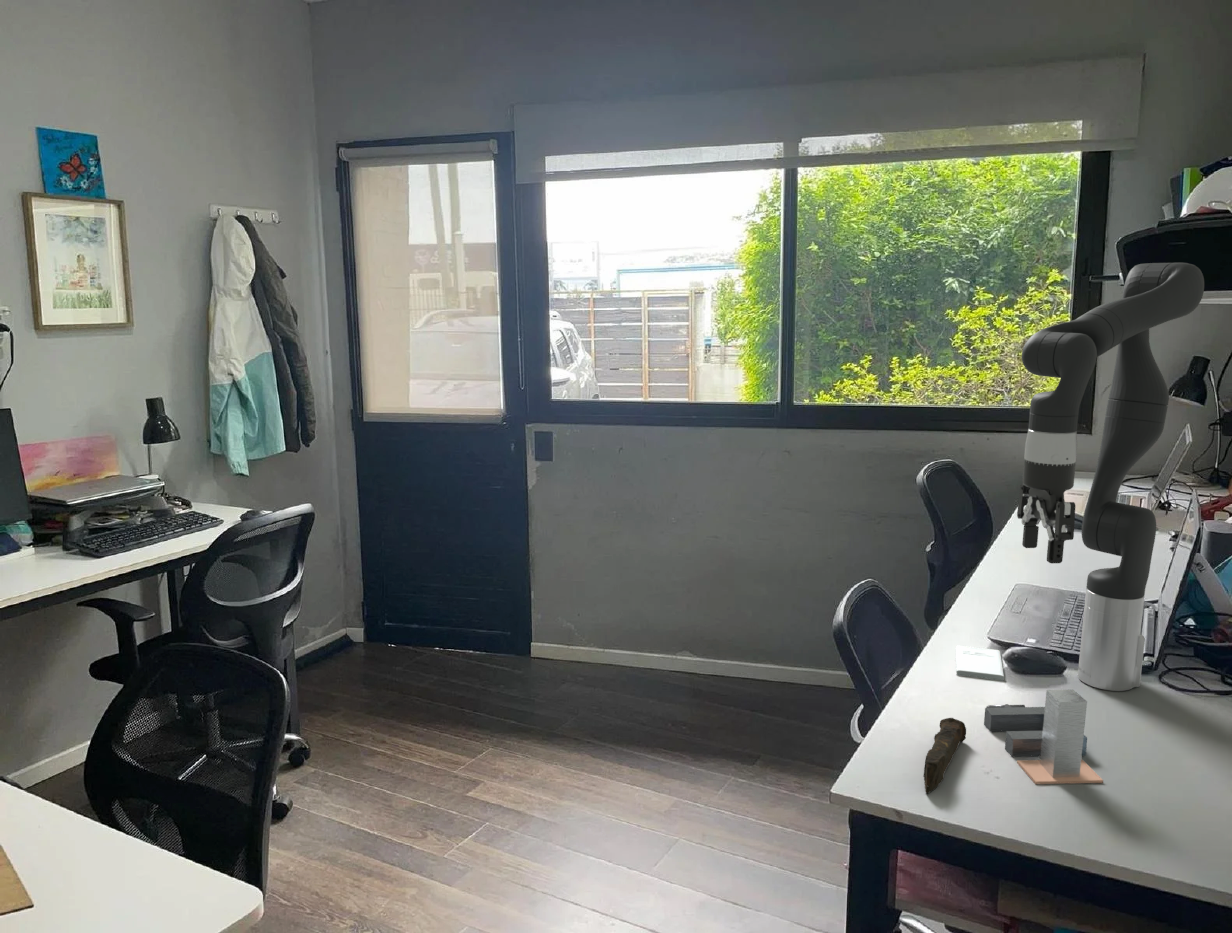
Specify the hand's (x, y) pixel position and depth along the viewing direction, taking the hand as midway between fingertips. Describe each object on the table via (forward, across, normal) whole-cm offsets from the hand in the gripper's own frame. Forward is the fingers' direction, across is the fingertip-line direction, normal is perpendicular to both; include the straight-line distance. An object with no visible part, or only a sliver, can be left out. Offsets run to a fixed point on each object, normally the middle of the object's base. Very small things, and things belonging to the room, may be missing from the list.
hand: (1041, 554), depth 150 cm
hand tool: (+28, -16, +20) cm, 39 cm away
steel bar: (+28, -19, +4) cm, 34 cm away
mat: (+28, -19, +4) cm, 34 cm away
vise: (+28, -7, +3) cm, 29 cm away
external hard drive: (+29, +20, 0) cm, 35 cm away
